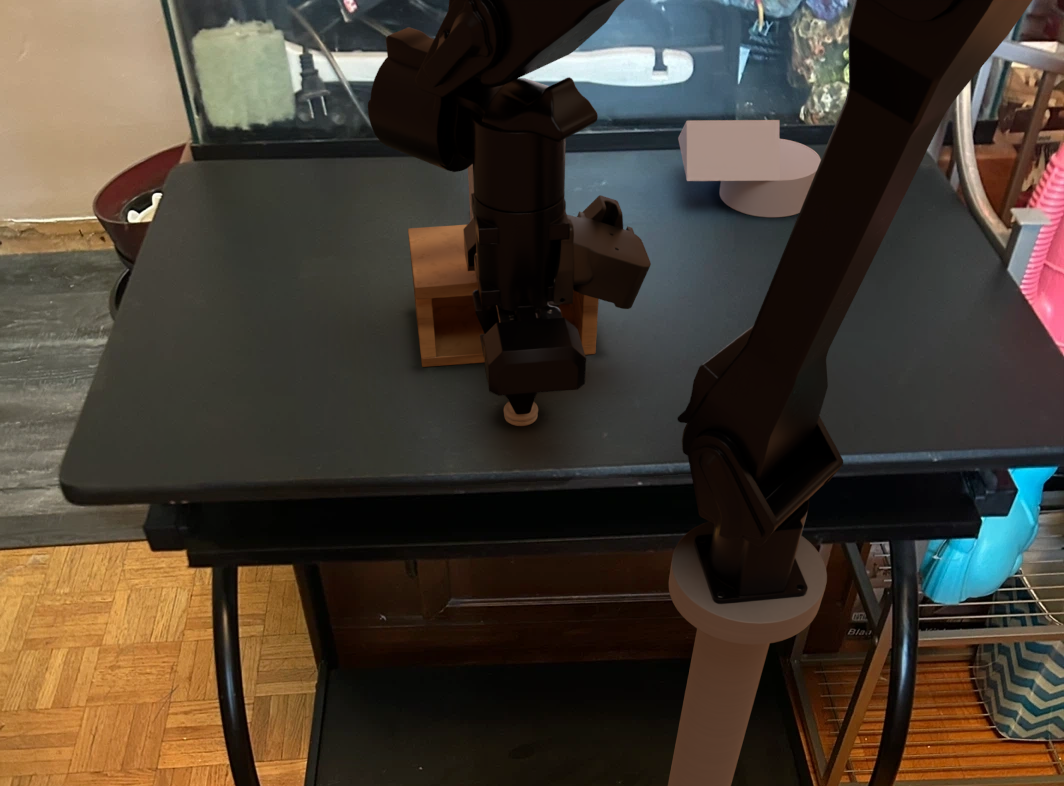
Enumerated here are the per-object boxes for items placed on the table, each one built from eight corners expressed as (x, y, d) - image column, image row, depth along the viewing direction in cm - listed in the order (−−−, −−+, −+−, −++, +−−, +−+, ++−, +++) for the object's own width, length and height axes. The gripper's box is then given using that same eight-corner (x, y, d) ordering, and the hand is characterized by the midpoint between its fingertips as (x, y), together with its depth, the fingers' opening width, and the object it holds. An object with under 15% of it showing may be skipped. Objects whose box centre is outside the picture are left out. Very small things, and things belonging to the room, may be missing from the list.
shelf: (596, 357, 82) (601, 274, 77) (422, 370, 81) (414, 287, 76) (578, 298, 88) (582, 216, 82) (415, 310, 87) (407, 228, 81)
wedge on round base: (682, 217, 96) (820, 217, 96) (691, 141, 91) (837, 141, 91) (674, 174, 102) (804, 173, 102) (682, 100, 97) (819, 99, 97)
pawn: (497, 412, 78) (496, 365, 74) (527, 402, 78) (527, 355, 75) (514, 431, 76) (513, 384, 73) (544, 420, 77) (545, 373, 74)
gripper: (677, 257, 59) (652, 475, 71) (618, 121, 71) (605, 329, 83) (485, 271, 58) (493, 488, 71) (457, 131, 70) (468, 339, 82)
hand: (521, 405), depth 76 cm, fingers closed on pawn, 2 cm apart
